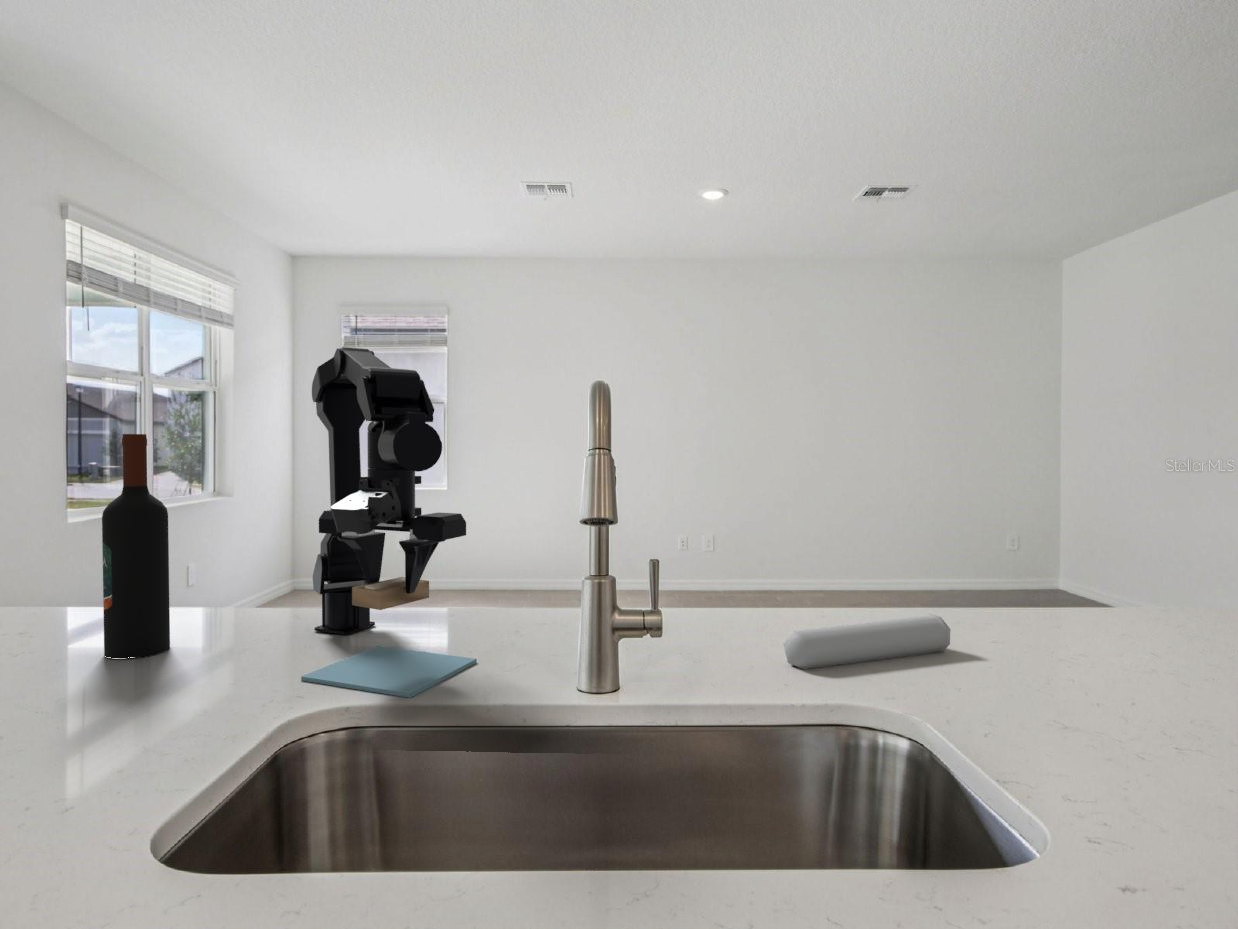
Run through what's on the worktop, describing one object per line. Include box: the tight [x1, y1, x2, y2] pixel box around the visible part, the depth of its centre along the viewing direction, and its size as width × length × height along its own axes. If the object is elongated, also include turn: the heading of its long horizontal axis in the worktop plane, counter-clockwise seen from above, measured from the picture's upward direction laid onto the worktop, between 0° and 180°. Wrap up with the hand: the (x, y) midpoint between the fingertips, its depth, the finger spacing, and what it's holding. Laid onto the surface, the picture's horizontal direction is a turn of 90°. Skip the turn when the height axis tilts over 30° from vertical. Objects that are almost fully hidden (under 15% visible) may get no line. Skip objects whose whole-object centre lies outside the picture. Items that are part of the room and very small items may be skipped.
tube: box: [783, 613, 951, 670], centre depth 97 cm, size 5×5×25 cm
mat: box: [300, 645, 477, 699], centre depth 90 cm, size 16×14×1 cm
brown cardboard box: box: [352, 576, 430, 611], centre depth 90 cm, size 8×5×2 cm, turn 150°
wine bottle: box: [101, 433, 171, 658], centre depth 98 cm, size 8×8×30 cm
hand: (391, 591), depth 90 cm, fingers closed on brown cardboard box, 5 cm apart
